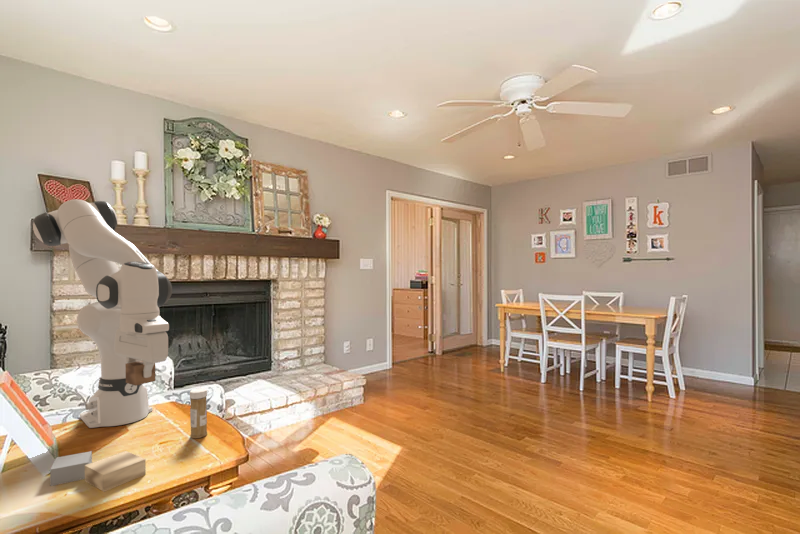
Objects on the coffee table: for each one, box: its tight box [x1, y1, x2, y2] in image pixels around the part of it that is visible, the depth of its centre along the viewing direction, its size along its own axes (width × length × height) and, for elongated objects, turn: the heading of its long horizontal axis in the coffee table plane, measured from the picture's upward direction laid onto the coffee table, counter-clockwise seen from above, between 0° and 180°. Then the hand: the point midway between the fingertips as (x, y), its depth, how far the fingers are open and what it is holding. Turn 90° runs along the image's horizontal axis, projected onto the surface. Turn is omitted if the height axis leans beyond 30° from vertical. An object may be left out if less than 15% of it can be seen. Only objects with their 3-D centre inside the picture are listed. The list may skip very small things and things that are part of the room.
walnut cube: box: [126, 361, 156, 386], centre depth 113 cm, size 5×5×5 cm
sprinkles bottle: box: [189, 388, 208, 439], centre depth 125 cm, size 5×5×14 cm
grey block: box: [49, 450, 93, 487], centre depth 102 cm, size 7×7×4 cm
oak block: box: [84, 450, 147, 493], centre depth 101 cm, size 9×9×4 cm
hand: (140, 375), depth 113 cm, fingers closed on walnut cube, 5 cm apart
